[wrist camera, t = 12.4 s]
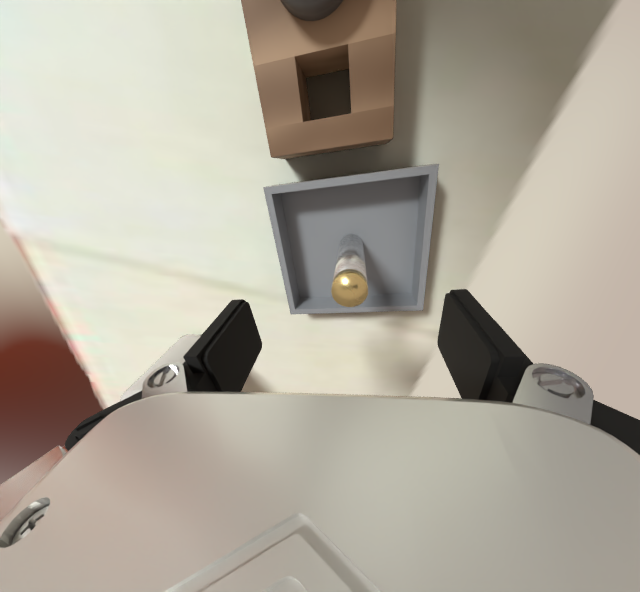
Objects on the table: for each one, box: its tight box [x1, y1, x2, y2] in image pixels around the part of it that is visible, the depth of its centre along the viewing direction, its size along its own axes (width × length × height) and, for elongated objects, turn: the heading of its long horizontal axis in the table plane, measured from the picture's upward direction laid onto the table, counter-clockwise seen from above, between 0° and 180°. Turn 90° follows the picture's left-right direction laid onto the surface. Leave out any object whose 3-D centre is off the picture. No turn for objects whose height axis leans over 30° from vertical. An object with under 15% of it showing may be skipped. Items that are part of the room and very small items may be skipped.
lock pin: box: [331, 234, 368, 307], centre depth 19 cm, size 2×2×10 cm
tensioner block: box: [241, 0, 396, 159], centre depth 15 cm, size 12×9×6 cm
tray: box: [263, 164, 439, 314], centre depth 23 cm, size 13×14×3 cm
